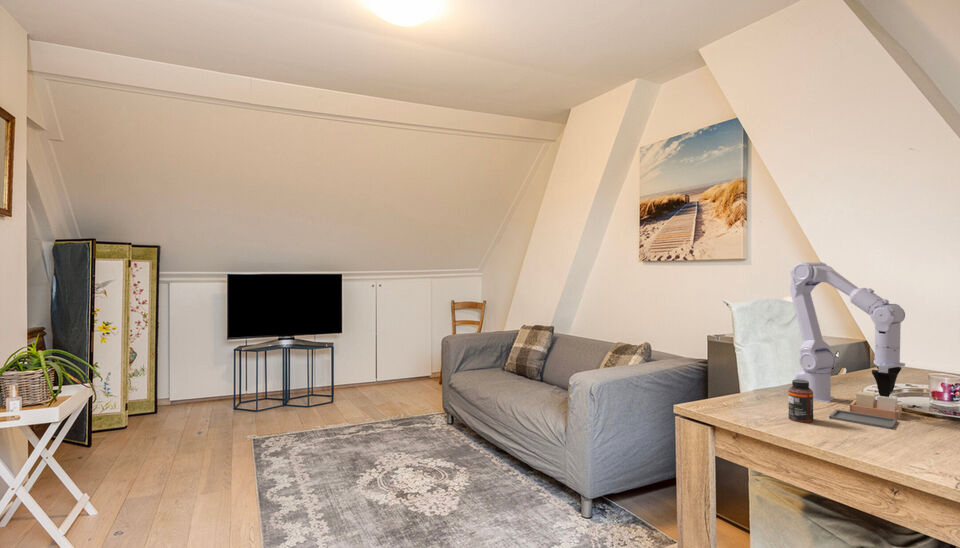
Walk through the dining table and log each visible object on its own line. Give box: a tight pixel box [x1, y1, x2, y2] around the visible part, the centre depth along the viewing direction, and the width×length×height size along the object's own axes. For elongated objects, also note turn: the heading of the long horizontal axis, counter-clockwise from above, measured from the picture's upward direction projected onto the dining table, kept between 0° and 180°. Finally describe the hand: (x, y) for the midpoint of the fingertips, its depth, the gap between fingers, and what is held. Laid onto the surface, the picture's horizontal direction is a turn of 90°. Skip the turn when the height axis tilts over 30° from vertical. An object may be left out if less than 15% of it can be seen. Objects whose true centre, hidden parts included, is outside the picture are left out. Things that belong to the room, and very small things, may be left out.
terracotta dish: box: [849, 398, 903, 421], centre depth 151 cm, size 11×9×2 cm
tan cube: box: [855, 390, 876, 408], centre depth 153 cm, size 4×4×5 cm
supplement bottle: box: [787, 379, 814, 424], centre depth 145 cm, size 6×6×11 cm
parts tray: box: [828, 409, 898, 430], centre depth 144 cm, size 14×9×1 cm, turn 46°
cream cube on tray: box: [876, 394, 898, 411], centre depth 149 cm, size 4×4×5 cm
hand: (886, 393), depth 149 cm, fingers open, 7 cm apart
